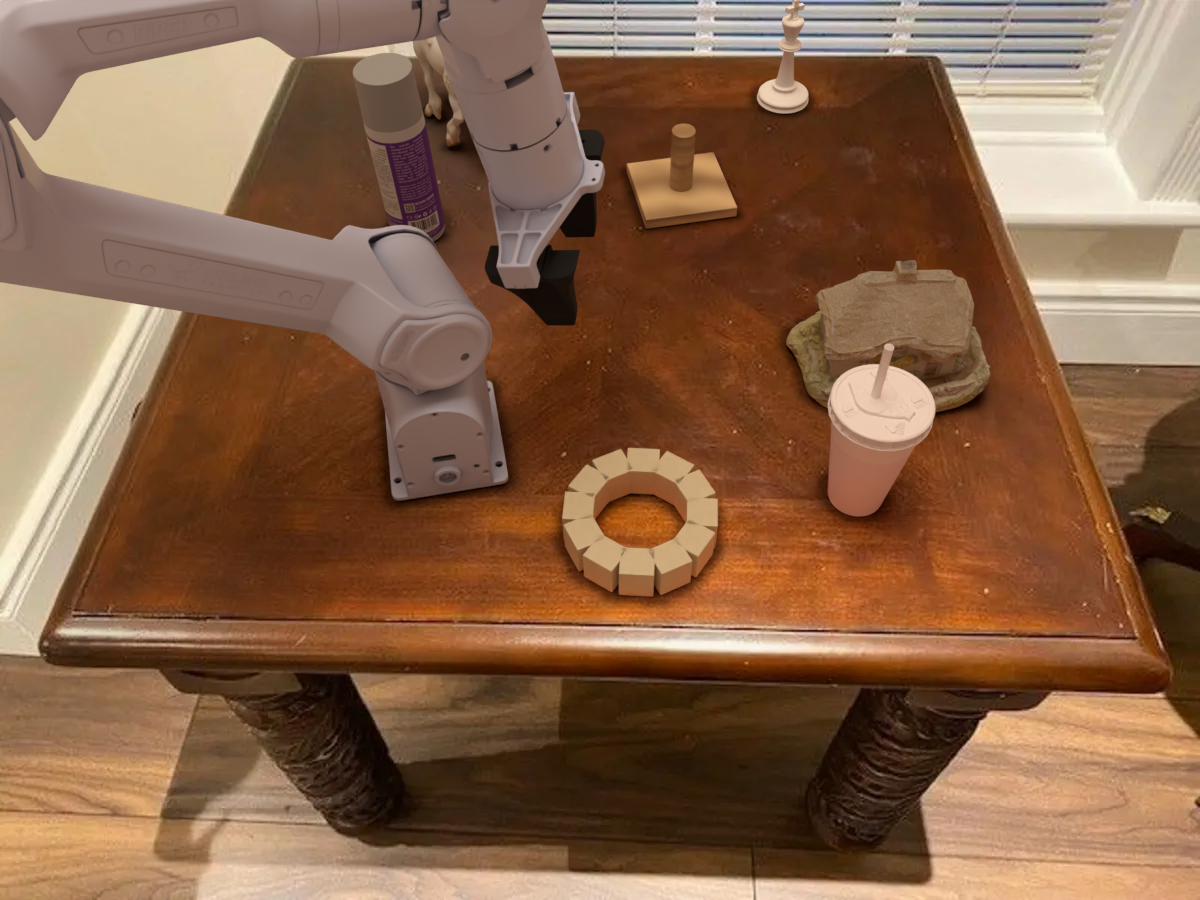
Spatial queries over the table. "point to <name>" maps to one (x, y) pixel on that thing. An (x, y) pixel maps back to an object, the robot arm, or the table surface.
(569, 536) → the block ring
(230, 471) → the table surface
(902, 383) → the smoothie
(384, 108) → the container
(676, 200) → the post stand
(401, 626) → the table surface
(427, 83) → the unicorn figurine
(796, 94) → the chess piece
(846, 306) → the ceramic model
